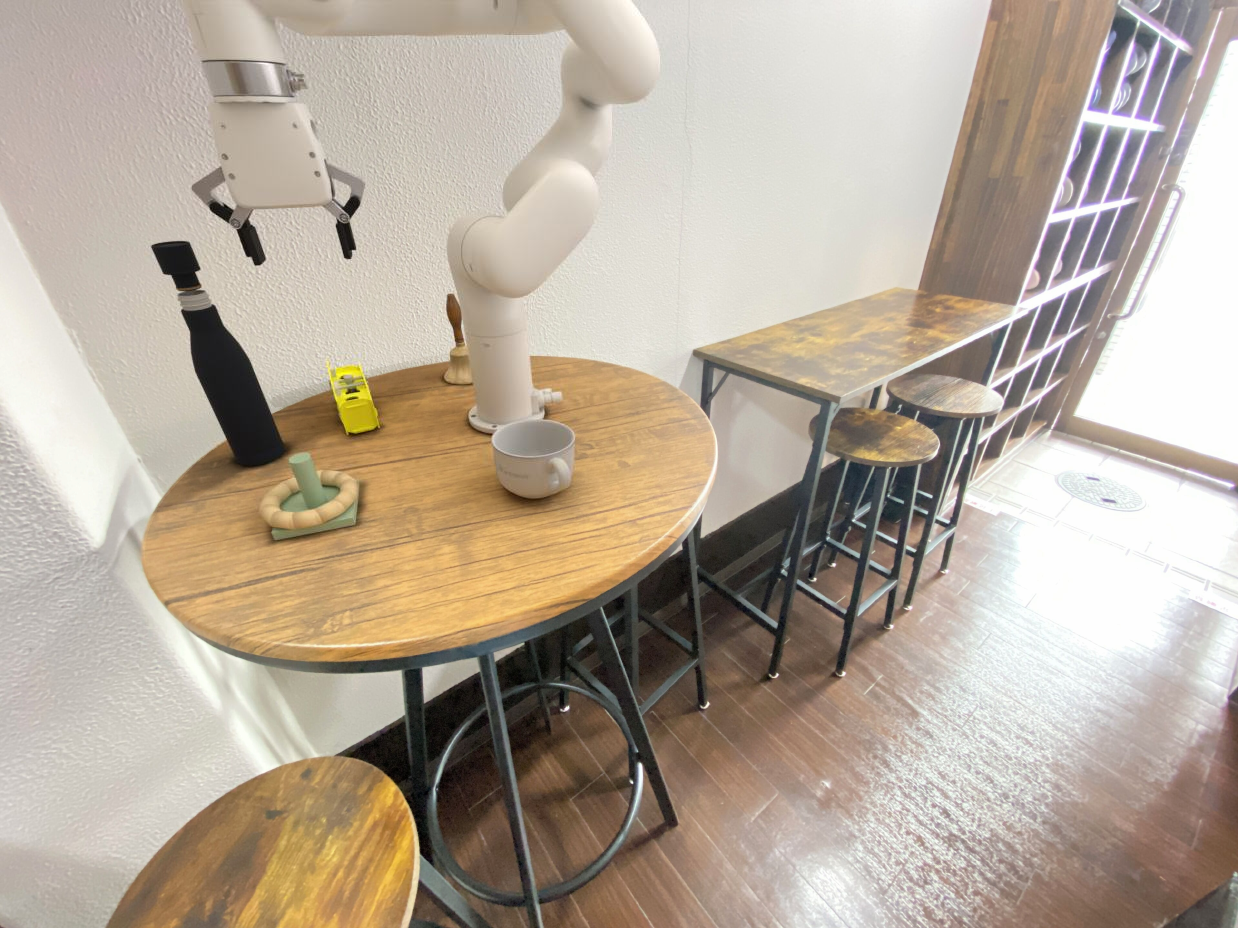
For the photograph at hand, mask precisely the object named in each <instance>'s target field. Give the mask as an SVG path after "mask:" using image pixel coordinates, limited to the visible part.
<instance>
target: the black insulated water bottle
mask: <svg viewBox="0 0 1238 928" xmlns="http://www.w3.org/2000/svg"><path fill="white" fill-rule="evenodd" d="M150 248H151V250H152V253H153V255H154V257H155V259H156V261H157V264H158V266H159V268H160V270H161V272H162V275H164V276H171V279H172V281H173V283H174V285H175V289H176V291H179V292H178V293H177V294H176V296H177V301H178V302H179V306H180V307H182V308H181V310H180V312H181V315H182V317H183V320H184V322H185V324H186V326H187V328H188V331H189V342H190V343H189V344H190V355H191V361H192V366H193V369H194V373H195V375H196V377H197V379H198V381H199V383H200V385H201V388H202V390H203V392H204V394H205V396H206V398H207V400H208V403H209V405H210V407H211V409H212V411H213V413H214V415H215V418H216V420H217V422H218V424H219V426H220V429H221V430H222V432H223V435H224V437H225V439H226V441H227V443H228V445H229V447H230V450H231V452H232V454H233V457H234V458H235V460H236V463H238V465H240V466H243V467H258V466H262V465H266V464H269V463H271V462H274V461H276V460H278V459H279V458H281V457H282V456H283V455H284V454H285V452H286V446H285V444H284V441H283V439H282V436H281V434H280V431H279V428H278V426H277V423H276V422H275V419H274V416H273V413H272V411H271V409H270V406H269V404H268V402H267V399H266V396H265V394H264V391H263V389H262V387H261V383H260V382H259V378H258V376H257V375H256V371H255V369H254V367H253V364H252V362H251V358H249V355H248V354H247V353H246V351H245V350H244V348H243V347H242V345H241V344H240V342H239V341H238V340H237V339H236V338H235V337H234V335H233V334H232V333H231V332H230V330H228V329H227V327H226V326H225V325H224V322H223V320H222V318H221V315H220V314H219V310H218V308H217V306H216V305H215V304H213V303H212V299H210V294H209V293H208V292H207V291H206V290H205V289H202V286H203V285H202V283H200V280H199V277H198V275H197V272H199V271H201V266H200V263H199V261H198V258H197V257H196V254H195V251H194V250H193V249H194V248H193V246H192V244H191V242H190V241H188V240H170V241H161V242H156V243H154V244H151V245H150Z"/></svg>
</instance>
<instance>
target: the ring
mask: <svg viewBox="0 0 1238 928" xmlns="http://www.w3.org/2000/svg"><path fill="white" fill-rule="evenodd" d="M316 471H317V474H318V477H319V479H320V482H321V485H330V486H337V487H339V488H340V493H339V494H338V495H337V496H336V497H335V498H334V499H333V500H332V501H330V502H328V503H326V504H324V505H322V506H319V507H317V508H315V509H311V510H306V511H301V512H296V513H294V512H286V511H282V510H281V509H279V508H280V504H281V503H282V502H283V501H284V500H286V499H287V498H288V497H289V496H290V495H292V494H295V493H297V492H299V491H300V488H299V486H298V484H297V481H296V479H295V476H293V477H291V478H288V479H285V480H283V481H280V482H279V483H278V484H276V485H275V486H274V487H273V488H272V489H269V491H267V492H266V493H265V494H264V495H263V497H262V500H261V503H260V506H259V508H258V514H259V516H260V517H261V518H262V519H263V520H264V521H265V522H266V523H267V524H268V525H269V526H271V527H272V528H273V527H277V528H285V529H294V530H295V529H301V528H306V527H311V526H316V525H320V524H323V523H325V522H327V521H329V520H331V519H333V518H335V517H337V516H339V515H341V514H343V513H344V512H345V511H346V510H347V509H348V508H349V507H350V506H351V505H352V503H353V502H354V501H355V500H356V499H357V491H358V483H357V481H356V480H354V479H355V478H353V477H352V476H350V475H349V474H347V473H346V472H344V471H339V470H331V469H320V470H316Z"/></svg>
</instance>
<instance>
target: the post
mask: <svg viewBox="0 0 1238 928" xmlns="http://www.w3.org/2000/svg"><path fill="white" fill-rule="evenodd" d="M288 464H289V466H290V468H291V471H292V474H293V477H295V479H296V481H297V484H298V486H299V488H300V491H299V492H297V493H295V494H292V495H290V496H289V497H288V498H287V499H286V500H284V501H283V502H282V503H281V504H280V508H279V509H281V510H282V511H286V512H294V513H296V512H301V511H306V510H311V509H315V508H317V507H319V506H322V505H324V504H326V503H328V502H330V501H332V500H333V499H334V498H335V497H336V496H337V495H338V494H339V493H340V488H339V487H337V486H330V485H321V482H320V479H319V477H318V474H317V471H318V470H317V468H316V466H315V463H314V461H313V459H312V454H310V453H309V452H299V453H296V454H294V455H291V456H290V457H289V458H288ZM353 479H354V480H356V481H357V483H358V491H357V499H356V500H355V501H354V502H353V503H352V505H351V506H350V507H349V508H348V509H347V510H346V511H345V512H344V513H343V514H341V515H339V516H337V517H335V518H333V519H331V520H329V521H327V522H325V523H323V524H320V525H316V526H311V527H306V528H301V529H295V530H294V529H285V528H277V527H272V529H271V536H272V538H273V540H274V541H279V540H284V539H291V538H296V537H300V536H306V535H311V534H316V533H320V532H325V531H326V532H327V531H332V530H336V529H342V528H347V527H352V526H356V521H357V512H358V506H359V505H358V504H359V497H360V496H359V495H360V494H359V493H360V482H359V479H358V478H353Z"/></svg>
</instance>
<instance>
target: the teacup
mask: <svg viewBox="0 0 1238 928" xmlns="http://www.w3.org/2000/svg"><path fill="white" fill-rule="evenodd" d="M490 442H491V446H492V452H493V453H492V455H493V461H494V468H495V472H496V473H495V474H496V477H497V480H498V481H499V482H500V484H501V485H502V487H504V488H505V489H506V490H508V491H509V492H511V493H513V494H515V495H517V496H519V497H521V498H525V499H535V500H536V499H544V498H546V497H551V496H552V495H555V494H558V493H559V492H562V491H564V490H566V489H567V488H569V487H570V485H571V482H572V481H571V480H572V479H571V478H572V476H573V473H574V467H575V442H576V434H575V432H574V430H573V429H572V428H571V427H569V426H568V425H566V424H564V423H562V422H559V421H555V420H551V419H545V418H543V419H531V420H521V421H516V422H513V423H509V424H506V425H504V426H502V427H501V428H499V429H498V430H496V431H495V433H494V434H491V438H490Z"/></svg>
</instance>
